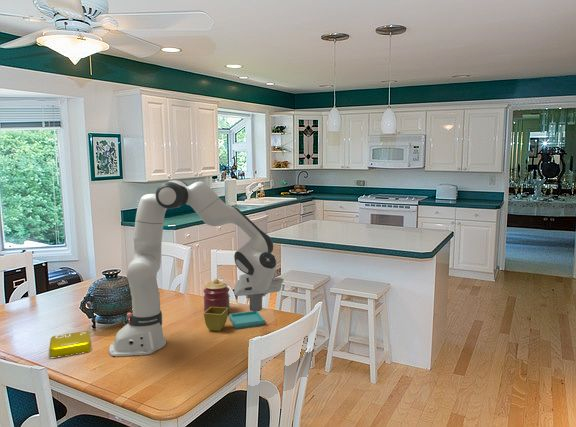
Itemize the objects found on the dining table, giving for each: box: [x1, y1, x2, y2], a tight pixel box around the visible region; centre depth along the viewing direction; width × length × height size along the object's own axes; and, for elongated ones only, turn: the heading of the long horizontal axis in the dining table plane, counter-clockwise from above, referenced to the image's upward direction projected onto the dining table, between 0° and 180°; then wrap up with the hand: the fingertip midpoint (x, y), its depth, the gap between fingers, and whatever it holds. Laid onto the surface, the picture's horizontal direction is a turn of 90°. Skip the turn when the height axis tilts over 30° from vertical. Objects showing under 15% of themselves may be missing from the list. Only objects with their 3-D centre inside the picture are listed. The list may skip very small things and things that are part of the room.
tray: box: [228, 310, 266, 330], centre depth 214 cm, size 14×14×2 cm
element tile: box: [48, 330, 92, 358], centre depth 186 cm, size 15×15×5 cm
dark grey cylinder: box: [248, 294, 263, 312], centre depth 198 cm, size 6×6×11 cm
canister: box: [203, 278, 231, 314], centre depth 226 cm, size 13×13×18 cm
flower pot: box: [203, 307, 229, 332], centre depth 205 cm, size 9×9×9 cm
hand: (255, 295), depth 199 cm, fingers closed on dark grey cylinder, 6 cm apart
